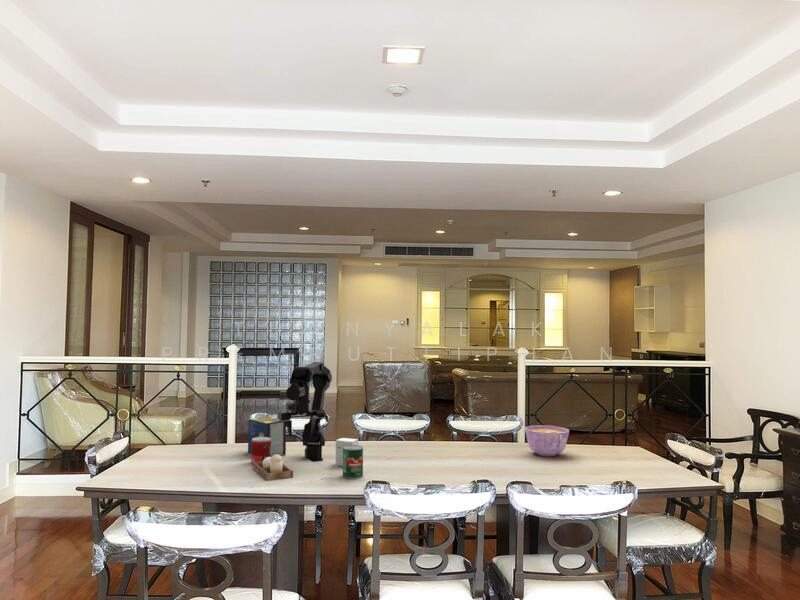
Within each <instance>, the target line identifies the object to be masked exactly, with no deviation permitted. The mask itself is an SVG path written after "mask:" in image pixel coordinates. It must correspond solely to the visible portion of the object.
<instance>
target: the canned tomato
mask: <svg viewBox="0 0 800 600" xmlns="http://www.w3.org/2000/svg"><path fill="white" fill-rule="evenodd" d="M362 477H364V446H362V445H359V444H358V445H349V446H344V447H343V466H342V478H345V479H353V480H354V479H355V480H357V479H361V478H362Z"/></svg>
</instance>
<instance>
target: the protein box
mask: <svg viewBox="0 0 800 600" xmlns="http://www.w3.org/2000/svg"><path fill="white" fill-rule="evenodd" d="M247 432H248V435H247V439H248V440H247V453H248V454H251V447H252V439H253V438H256V437H269V438H271V457H272V456H273V455H275V454H278V455H280V456H281V457H282V456H285V455H286V454H287V450H286V449H287V427H286V425H285V423H284V422H283V421H281V420H280V419H277V417H272V416H261V417H254V418H253V417H251V418H248V431H247Z"/></svg>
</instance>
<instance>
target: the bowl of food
mask: <svg viewBox="0 0 800 600" xmlns="http://www.w3.org/2000/svg"><path fill="white" fill-rule="evenodd" d="M524 432H525V435H526V436H525V437H526V440H527V444H528V447H529V448H530V450H531V451H533V452H534V453H537V455H538V456H542V457H556V456H557V455H558V454H560V453H562V452H564V450H566V446H567V442H568V439H569V434H570V429H568V428H565V427H562V426H557V425H544V424H543V425H540V424H539V425H528V426H524Z"/></svg>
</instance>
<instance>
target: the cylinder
mask: <svg viewBox="0 0 800 600" xmlns="http://www.w3.org/2000/svg"><path fill="white" fill-rule="evenodd" d="M283 461H284V460H283V457H282V456H280V455H278V454H275V455H273V456H272V457H271V459H270V473H278V472H282V470H283V464H284V462H283Z"/></svg>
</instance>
